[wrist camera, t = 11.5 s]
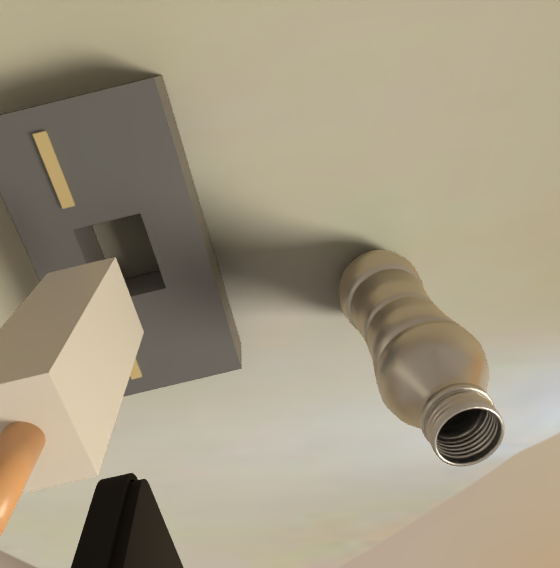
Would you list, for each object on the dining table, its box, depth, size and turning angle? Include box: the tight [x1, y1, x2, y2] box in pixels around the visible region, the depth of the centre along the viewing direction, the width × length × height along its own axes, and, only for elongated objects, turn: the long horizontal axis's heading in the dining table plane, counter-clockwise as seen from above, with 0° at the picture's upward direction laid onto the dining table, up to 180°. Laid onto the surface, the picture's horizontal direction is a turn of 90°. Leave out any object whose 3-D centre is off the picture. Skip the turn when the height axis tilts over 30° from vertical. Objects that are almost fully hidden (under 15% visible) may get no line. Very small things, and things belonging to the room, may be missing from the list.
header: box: [0, 75, 242, 396], centre depth 40 cm, size 22×12×4 cm, turn 13°
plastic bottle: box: [339, 250, 504, 466], centre depth 35 cm, size 6×7×20 cm
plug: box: [0, 257, 144, 535], centre depth 24 cm, size 5×4×16 cm
